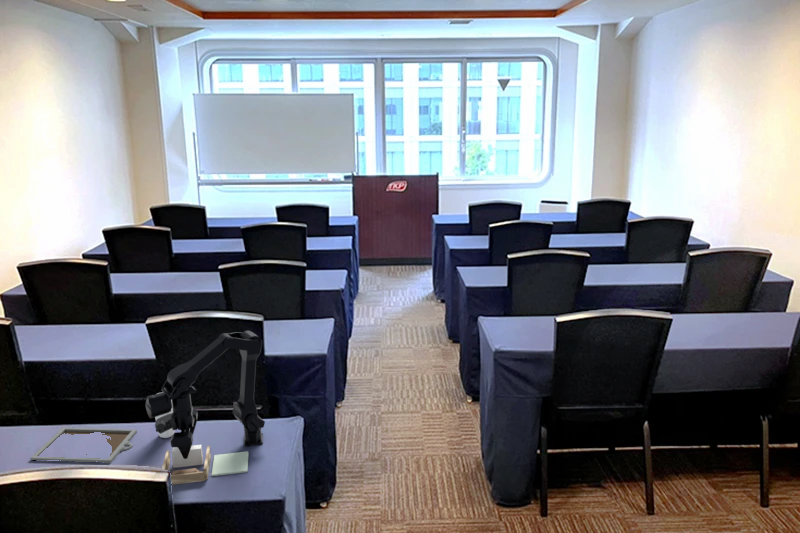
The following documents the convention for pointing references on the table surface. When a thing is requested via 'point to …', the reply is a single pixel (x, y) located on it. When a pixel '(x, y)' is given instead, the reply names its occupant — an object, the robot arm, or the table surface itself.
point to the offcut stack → (185, 471)
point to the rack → (189, 476)
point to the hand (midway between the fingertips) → (187, 450)
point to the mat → (230, 463)
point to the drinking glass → (168, 432)
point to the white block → (193, 457)
